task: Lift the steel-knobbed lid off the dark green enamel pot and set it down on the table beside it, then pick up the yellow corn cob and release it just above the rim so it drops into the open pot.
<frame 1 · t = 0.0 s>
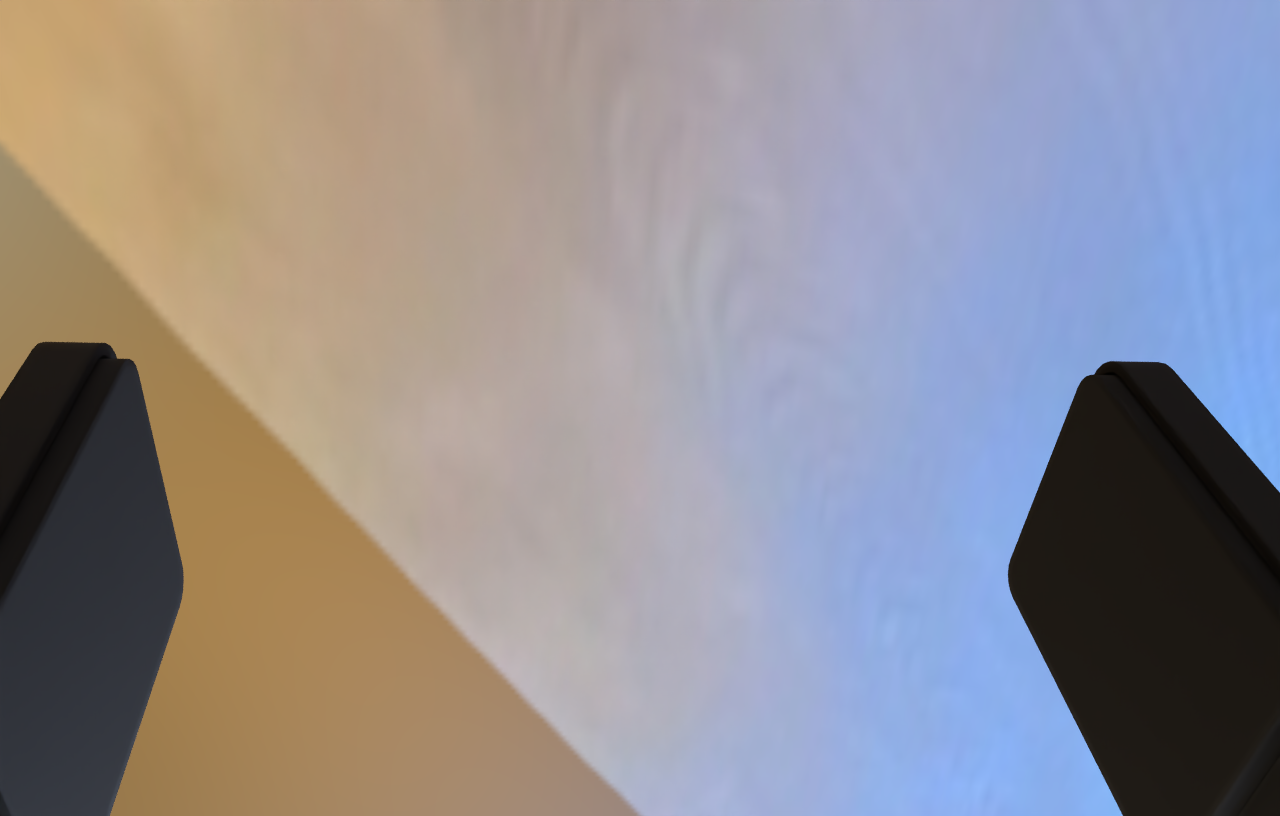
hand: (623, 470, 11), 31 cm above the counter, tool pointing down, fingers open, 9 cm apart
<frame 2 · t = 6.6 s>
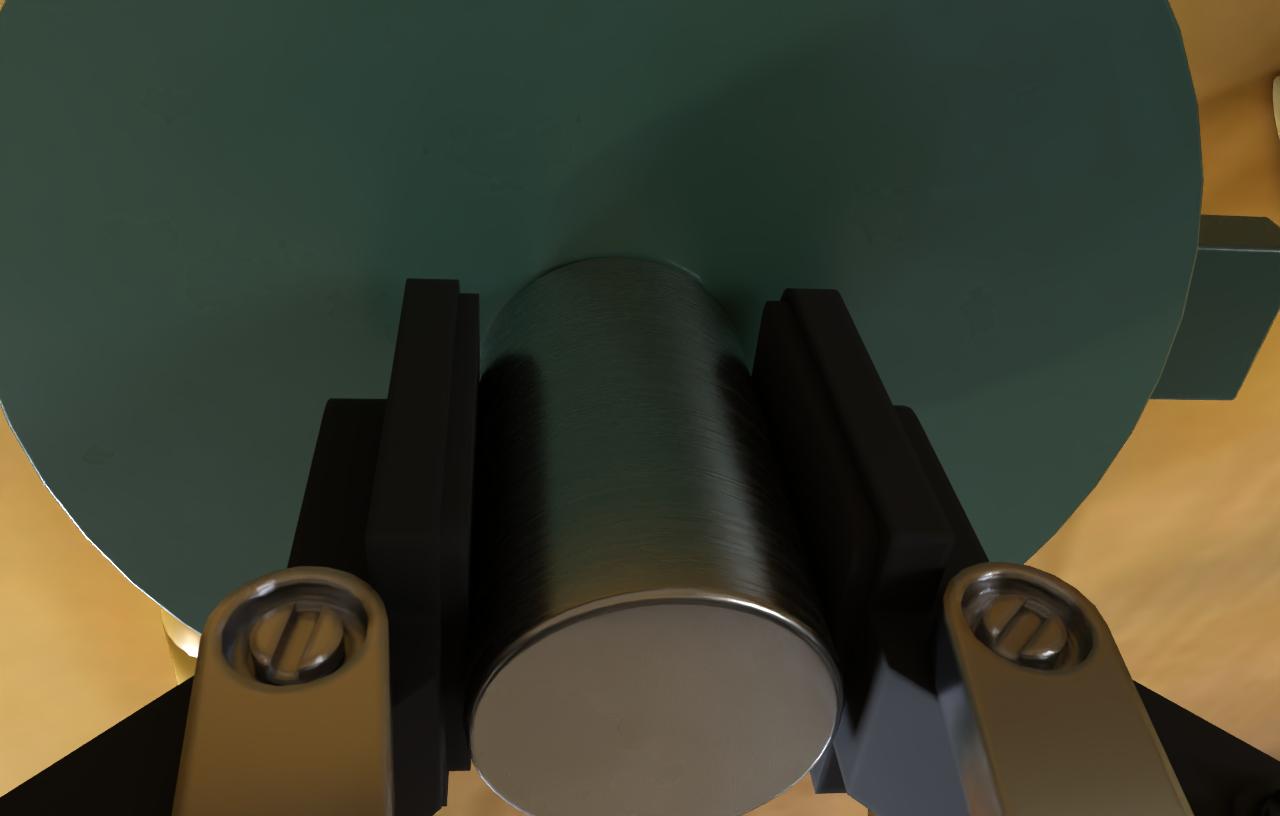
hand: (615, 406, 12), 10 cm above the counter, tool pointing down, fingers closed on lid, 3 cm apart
corn: (287, 582, 27), on the counter
lid: (608, 345, 13), point 9 cm above the counter, touching gripper, pot
pot: (573, 80, 20), on the counter
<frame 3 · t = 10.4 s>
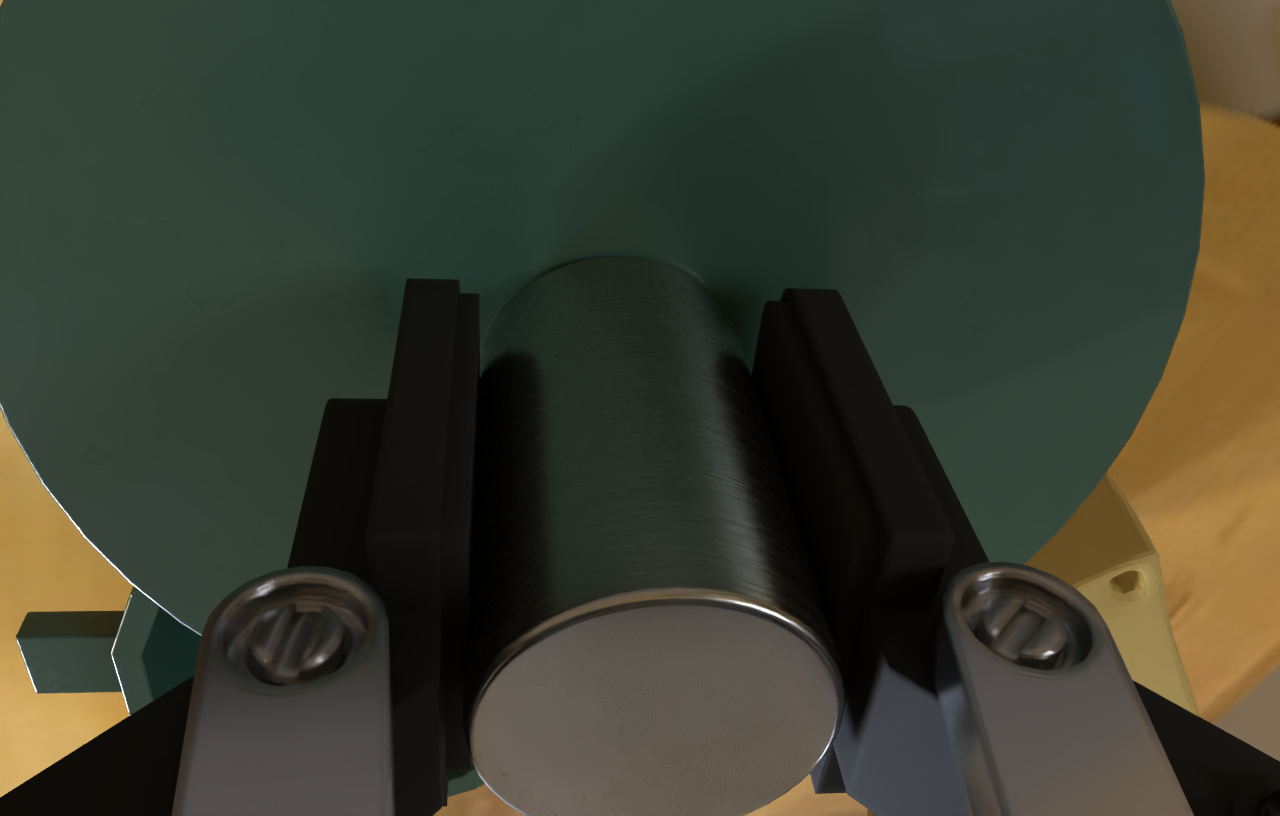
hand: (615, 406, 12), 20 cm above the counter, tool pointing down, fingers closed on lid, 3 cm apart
cheese: (931, 497, 41), on the counter
lid: (608, 345, 13), point 19 cm above the counter, touching gripper
pot: (381, 478, 38), on the counter
when the fingers open (2 cm above the counter, at t = 14.5 s): lid stays where it is, point 1 cm above the counter.
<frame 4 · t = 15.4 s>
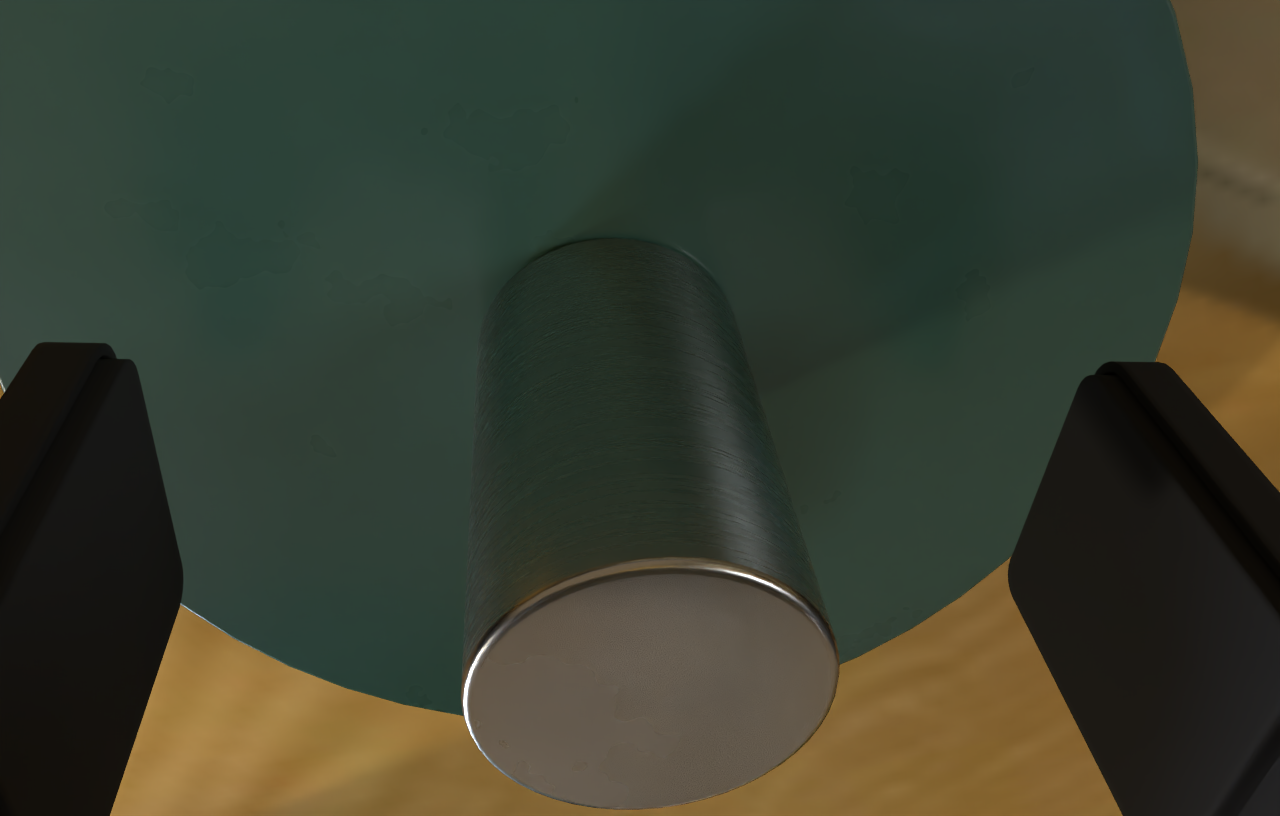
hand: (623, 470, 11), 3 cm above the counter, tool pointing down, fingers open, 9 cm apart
lid: (605, 328, 13), point 1 cm above the counter
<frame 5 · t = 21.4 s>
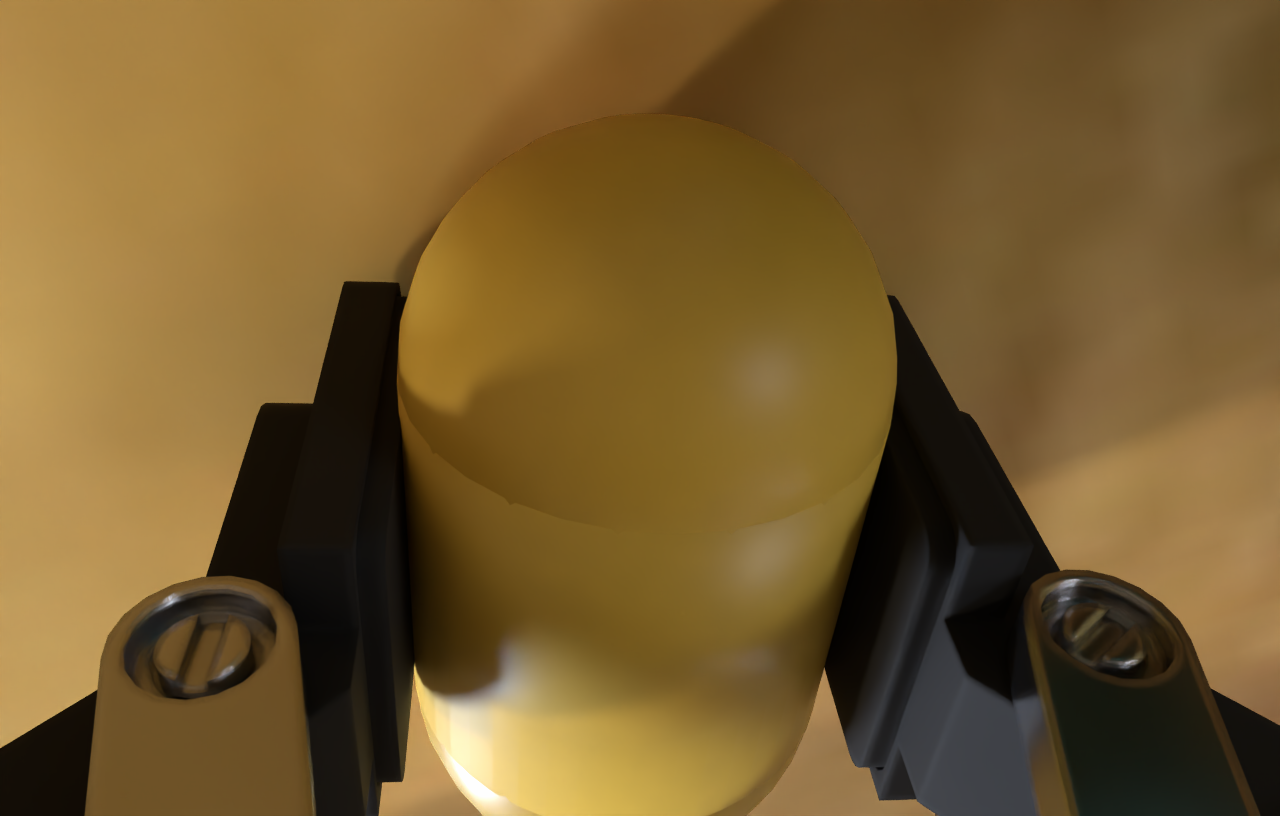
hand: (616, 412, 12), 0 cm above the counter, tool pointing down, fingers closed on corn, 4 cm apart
corn: (614, 394, 12), on the counter, touching gripper
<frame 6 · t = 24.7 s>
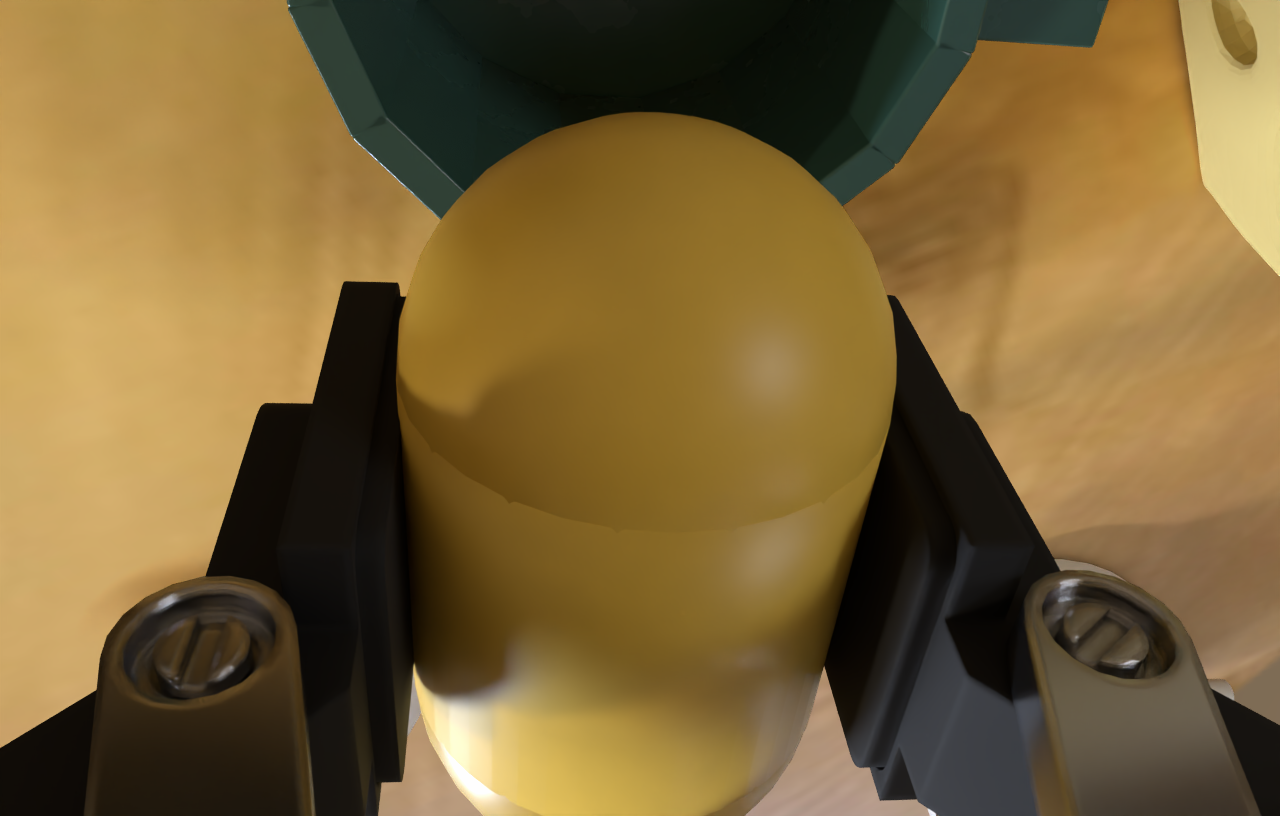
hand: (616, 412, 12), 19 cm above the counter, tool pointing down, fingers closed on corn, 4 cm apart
corn: (613, 393, 12), point 19 cm above the counter, touching gripper
flower in vase: (255, 648, 41), on the counter
when the fingers open (7 cm above the counter, at t = 28.2 s): corn drops 6 cm, resting on pot.
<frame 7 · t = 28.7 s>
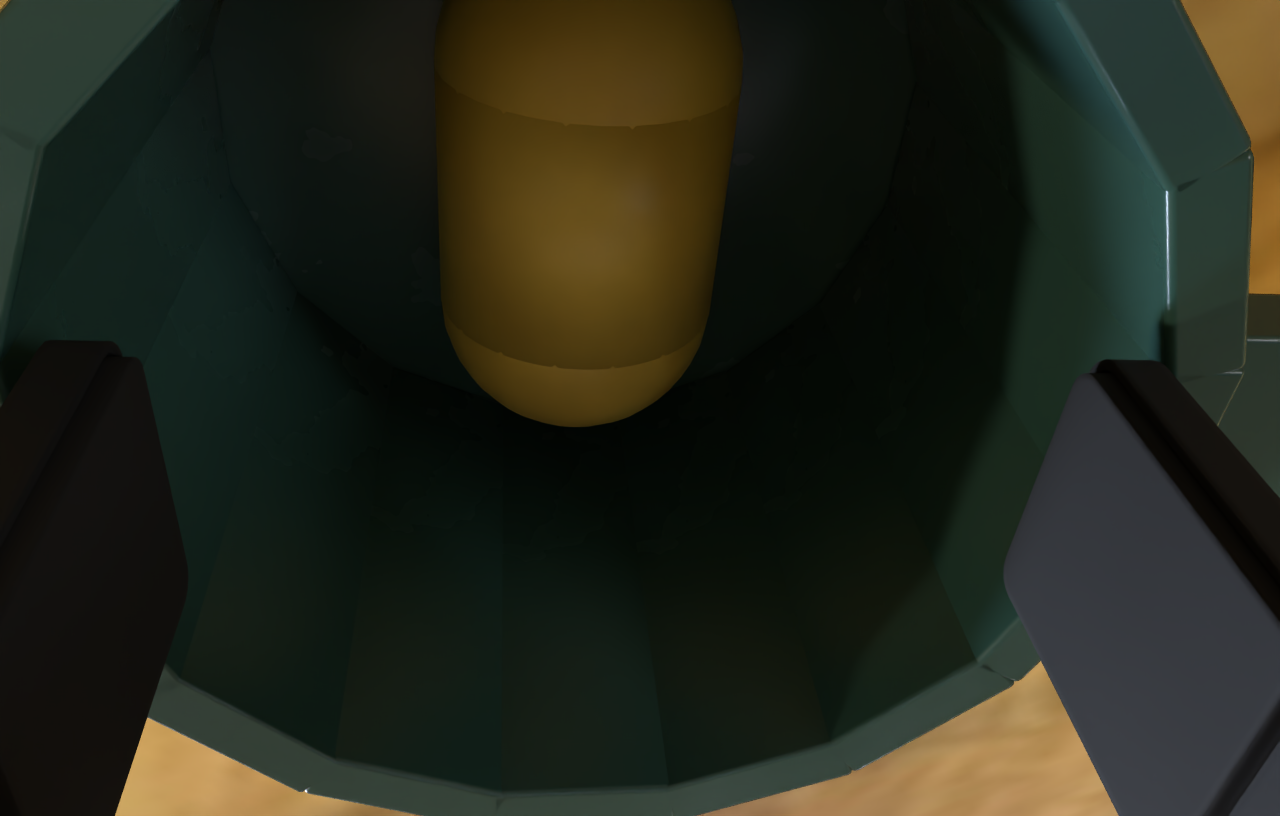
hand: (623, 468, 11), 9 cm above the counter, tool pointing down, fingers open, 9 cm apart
corn: (575, 131, 18), resting on pot
pot: (573, 118, 18), on the counter
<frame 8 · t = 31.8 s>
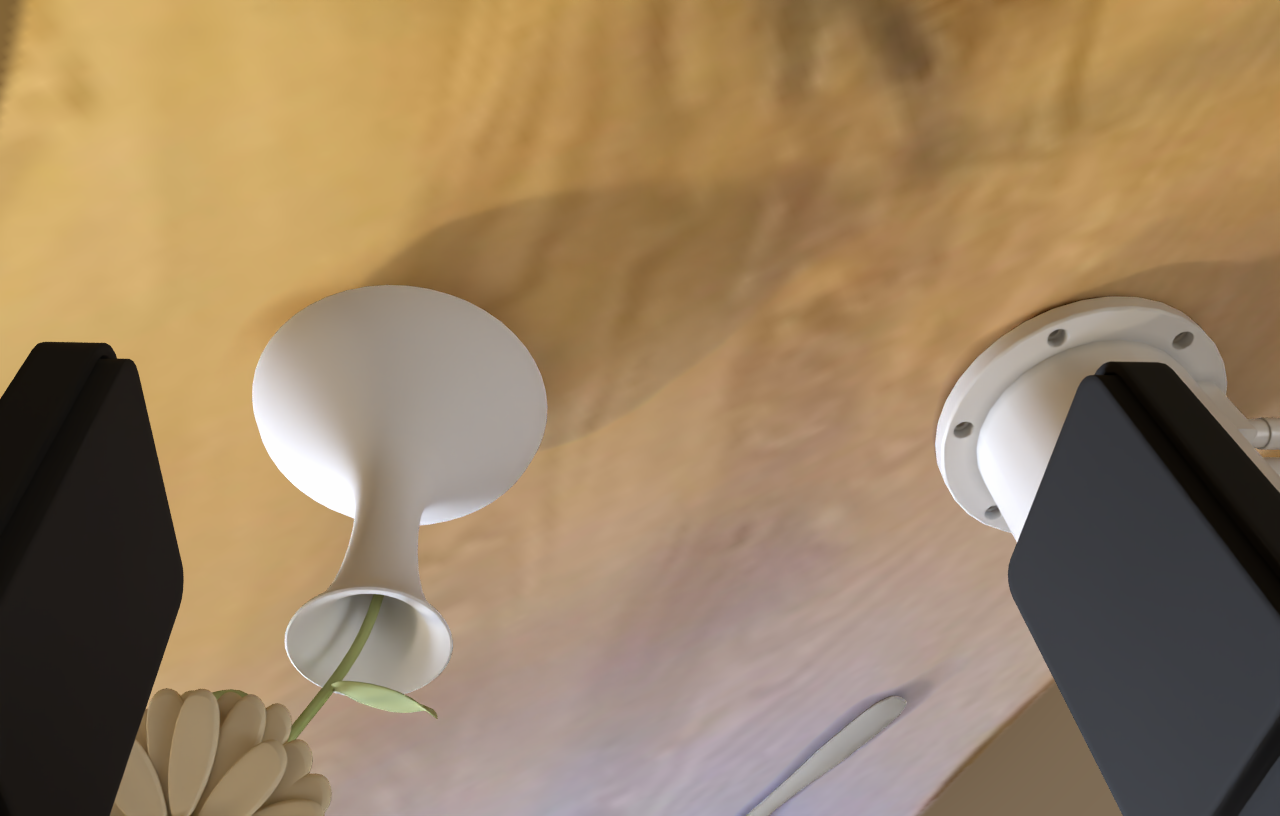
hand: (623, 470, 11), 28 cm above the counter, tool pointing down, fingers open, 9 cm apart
flower in vase: (386, 384, 44), on the counter
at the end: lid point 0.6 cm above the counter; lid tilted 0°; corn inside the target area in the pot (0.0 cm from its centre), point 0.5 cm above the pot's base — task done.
